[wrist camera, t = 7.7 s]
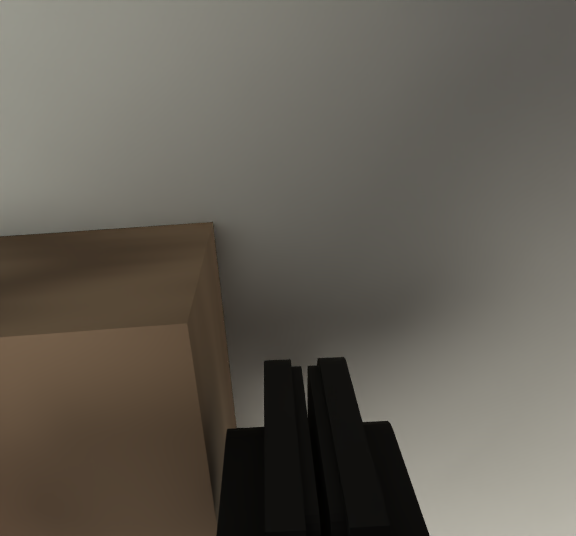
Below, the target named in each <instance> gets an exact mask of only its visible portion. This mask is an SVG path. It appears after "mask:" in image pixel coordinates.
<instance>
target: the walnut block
mask: <svg viewBox="0 0 576 536" xmlns="http://www.w3.org/2000/svg"><path fill="white" fill-rule="evenodd" d="M232 428H236V419H235V410H234V401H233V393H232V384H231V375H230V367H229V358H228V349H227V341H226V332H225V323H224V314H223V306H222V297H221V288H220V280H219V271H218V262H217V254H216V245H215V236H214V228H213V222H207V223H192V224H177V225H163V226H148V227H133V228H119V229H104V230H89V231H75V232H60V233H45V234H31V235H16V236H1V237H0V536H216V535H217V524H218V514H219V503H220V492H221V482H222V471H223V461H224V450H225V440H226V432H227V429H232Z"/></svg>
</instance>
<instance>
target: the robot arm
mask: <svg viewBox="0 0 576 536" xmlns="http://www.w3.org/2000/svg"><path fill="white" fill-rule="evenodd" d="M216 536H429V533H428V530H427V527H426V524H425V521H424V518H423V515H422V513H421V510H420V507H419V504H418V501H417V498H416V495H415V492H414V489H413V486H412V483H411V481H410V478H409V475H408V472H407V469H406V466H405V463H404V460H403V457H402V454H401V452H400V449H399V446H398V443H397V440H396V437H395V434H394V431H393V429H392V426H391V424H390V423H389V422H388V421H378V422H362V419H361V415H360V411H359V408H358V404H357V400H356V396H355V393H354V389H353V385H352V382H351V378H350V374H349V370H348V367H347V363H346V360H345V358H344V357H336V358H318V360H317V365H316V366H308V416H307V408H306V400H305V392H304V384H303V376H302V368H301V366H295V367H291V360H267V361H264V427H253V428H232V429H227V432H226V440H225V450H224V461H223V471H222V482H221V492H220V503H219V514H218V524H217V535H216Z"/></svg>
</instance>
